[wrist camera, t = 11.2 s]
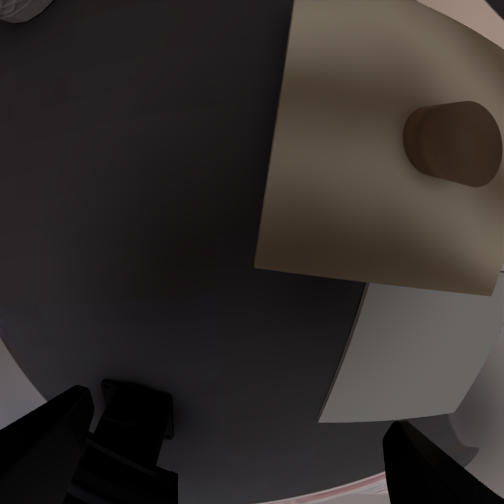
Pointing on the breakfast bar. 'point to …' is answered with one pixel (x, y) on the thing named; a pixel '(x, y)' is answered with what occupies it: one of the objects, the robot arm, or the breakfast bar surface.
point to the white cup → (21, 9)
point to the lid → (387, 149)
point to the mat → (412, 353)
